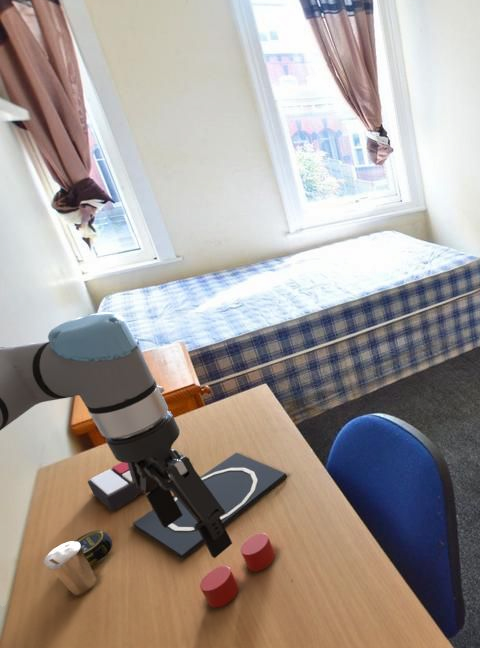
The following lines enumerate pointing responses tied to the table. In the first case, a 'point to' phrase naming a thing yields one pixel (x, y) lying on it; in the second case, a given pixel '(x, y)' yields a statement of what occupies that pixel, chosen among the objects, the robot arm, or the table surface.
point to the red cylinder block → (219, 586)
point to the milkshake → (71, 567)
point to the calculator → (115, 486)
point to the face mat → (228, 489)
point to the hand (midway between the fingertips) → (196, 534)
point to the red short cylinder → (257, 552)
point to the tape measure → (95, 545)
